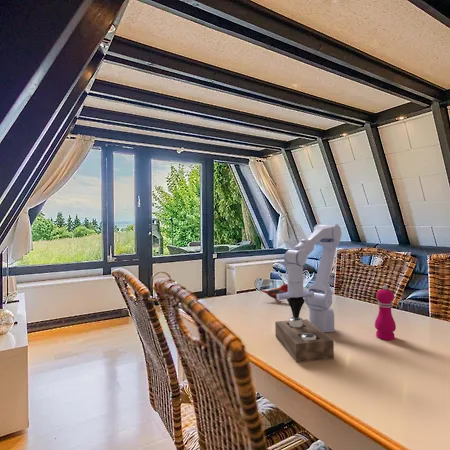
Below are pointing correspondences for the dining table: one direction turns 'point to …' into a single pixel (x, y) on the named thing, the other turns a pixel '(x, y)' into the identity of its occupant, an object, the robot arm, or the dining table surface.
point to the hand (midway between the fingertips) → (295, 317)
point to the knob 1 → (295, 322)
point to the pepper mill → (385, 315)
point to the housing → (304, 342)
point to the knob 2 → (308, 336)
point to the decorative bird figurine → (277, 292)
